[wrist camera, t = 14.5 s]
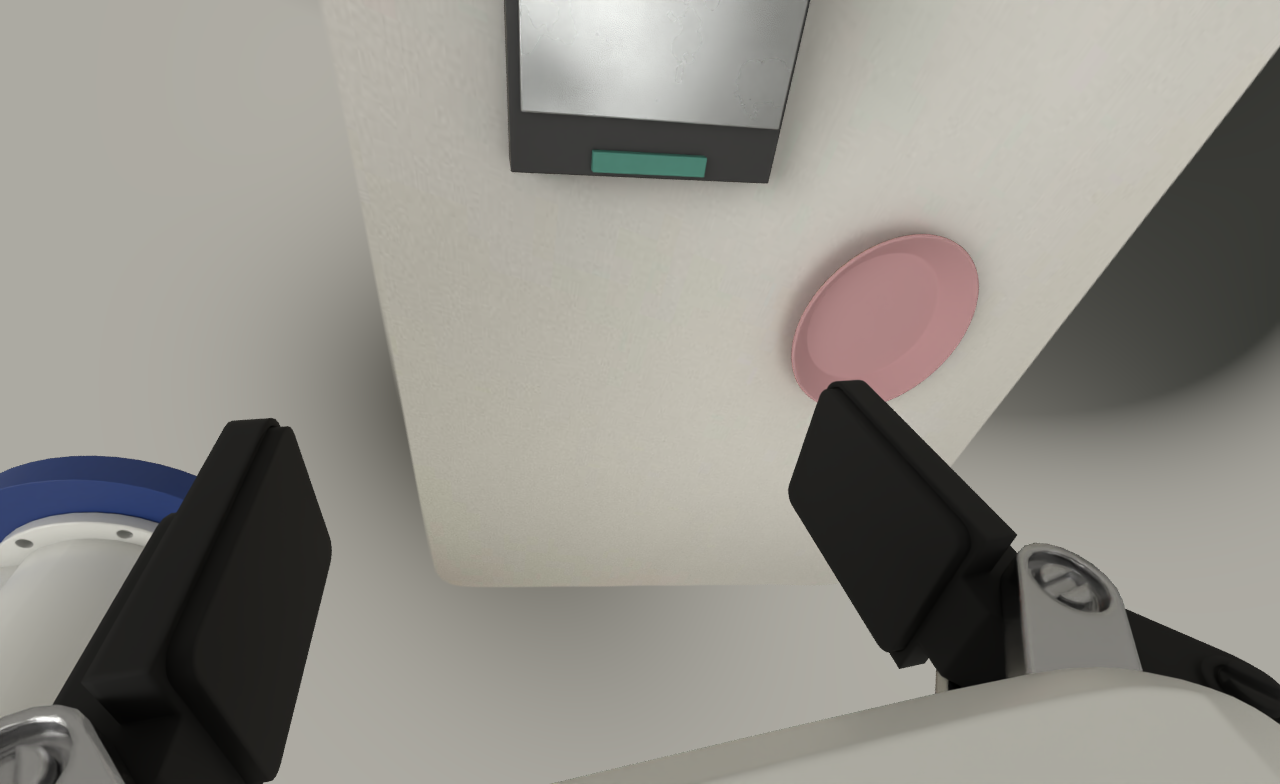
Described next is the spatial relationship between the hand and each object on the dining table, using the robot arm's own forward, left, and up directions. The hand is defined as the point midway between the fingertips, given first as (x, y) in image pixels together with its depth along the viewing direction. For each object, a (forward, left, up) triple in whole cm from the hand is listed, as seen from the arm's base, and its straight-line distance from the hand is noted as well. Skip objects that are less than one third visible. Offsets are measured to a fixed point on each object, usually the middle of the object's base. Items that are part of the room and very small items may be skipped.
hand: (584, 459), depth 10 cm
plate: (+25, -11, -25) cm, 37 cm away
